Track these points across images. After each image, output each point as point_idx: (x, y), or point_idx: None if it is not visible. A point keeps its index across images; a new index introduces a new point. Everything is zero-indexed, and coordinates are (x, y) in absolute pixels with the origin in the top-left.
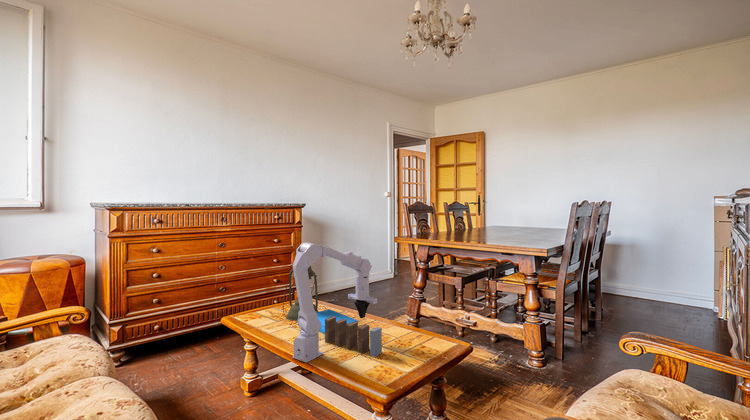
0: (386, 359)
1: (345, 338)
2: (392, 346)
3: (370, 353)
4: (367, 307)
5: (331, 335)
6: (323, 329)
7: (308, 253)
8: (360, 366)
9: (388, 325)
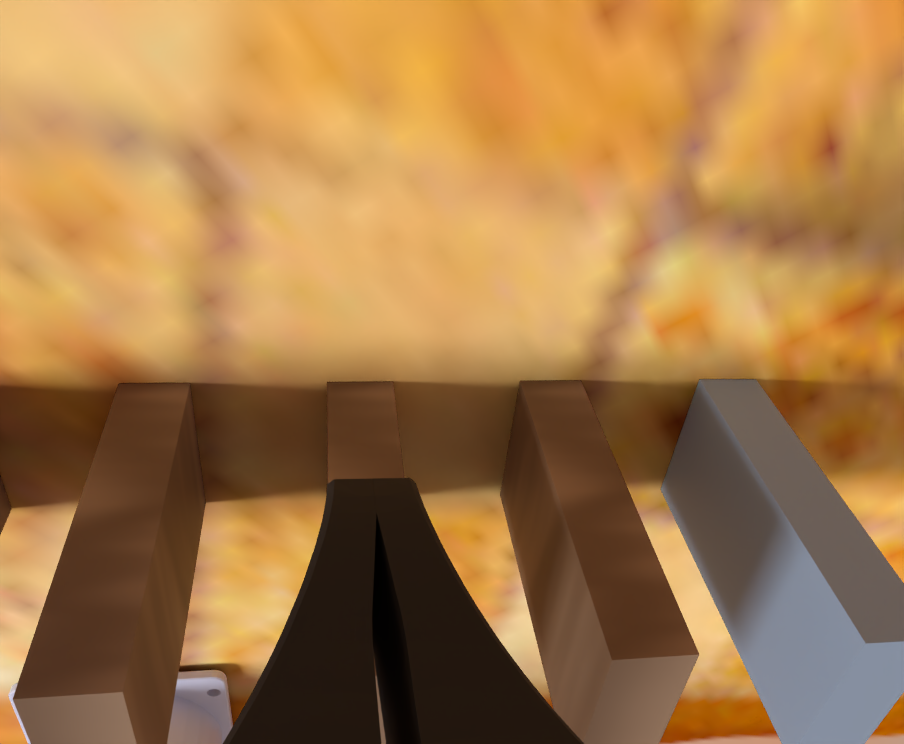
0: (843, 461)
1: (183, 455)
2: (848, 150)
3: (674, 510)
4: (540, 706)
5: None
6: None
7: None
8: None
9: None
